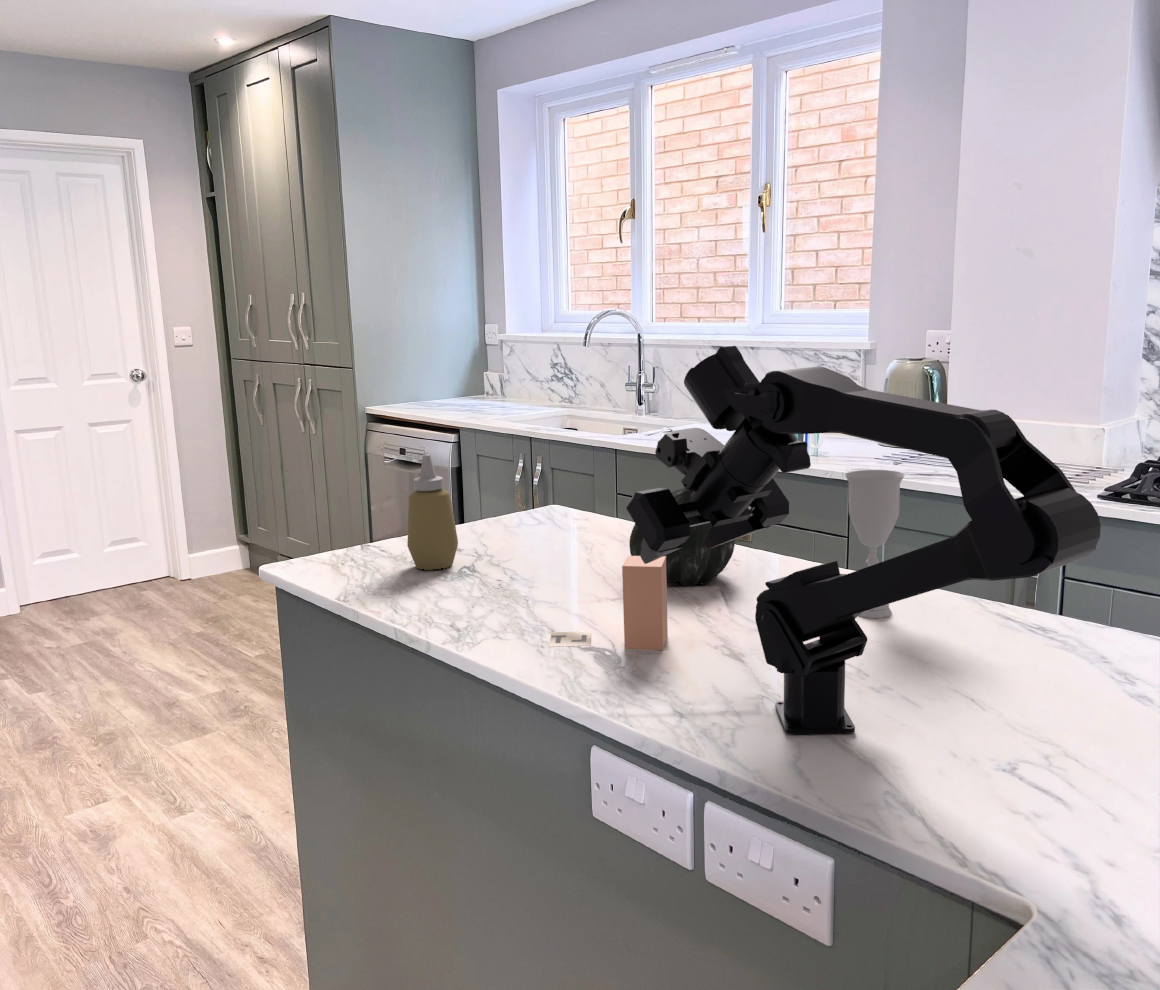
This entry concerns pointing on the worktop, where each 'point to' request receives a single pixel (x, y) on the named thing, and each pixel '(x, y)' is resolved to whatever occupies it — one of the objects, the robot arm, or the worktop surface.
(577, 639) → the walnut board
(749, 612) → the worktop surface
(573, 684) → the worktop surface
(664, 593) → the terracotta block
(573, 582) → the worktop surface
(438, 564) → the squeeze bottle
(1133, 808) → the worktop surface
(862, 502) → the chalice
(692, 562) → the squash
